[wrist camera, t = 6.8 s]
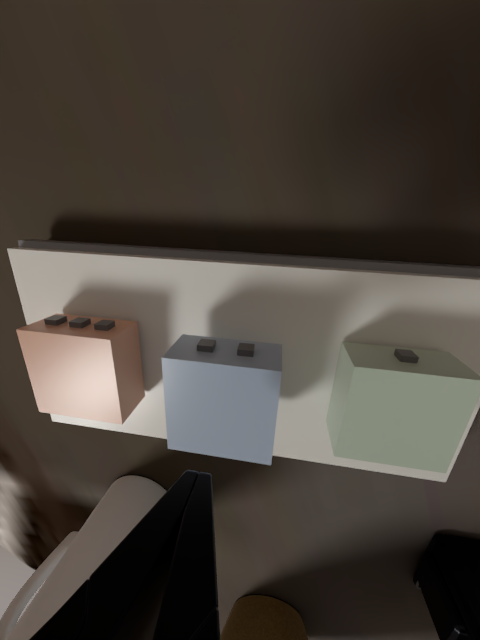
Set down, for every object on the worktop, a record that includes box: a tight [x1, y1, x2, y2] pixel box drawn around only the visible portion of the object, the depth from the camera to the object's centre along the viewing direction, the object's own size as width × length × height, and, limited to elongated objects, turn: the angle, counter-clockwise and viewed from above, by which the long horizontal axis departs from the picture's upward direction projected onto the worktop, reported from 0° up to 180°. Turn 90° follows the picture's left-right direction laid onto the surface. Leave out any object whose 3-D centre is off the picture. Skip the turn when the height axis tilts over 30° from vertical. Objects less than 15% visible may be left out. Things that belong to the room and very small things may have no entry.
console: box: [7, 239, 480, 482], centre depth 16 cm, size 26×12×2 cm, turn 87°
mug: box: [0, 475, 167, 640], centre depth 19 cm, size 10×7×12 cm, turn 106°
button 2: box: [162, 334, 282, 465], centre depth 13 cm, size 5×5×2 cm
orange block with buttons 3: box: [16, 314, 145, 425], centre depth 15 cm, size 5×5×2 cm
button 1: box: [326, 342, 480, 473], centre depth 13 cm, size 5×5×2 cm
